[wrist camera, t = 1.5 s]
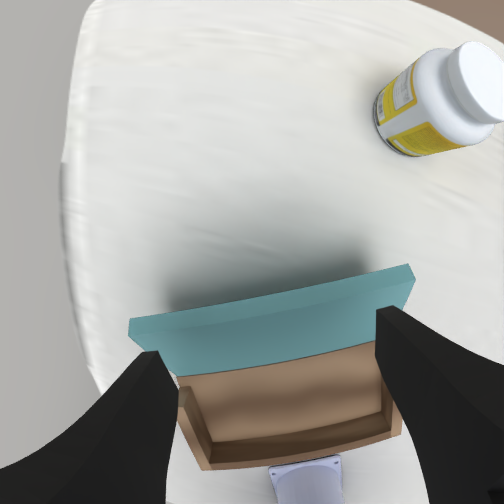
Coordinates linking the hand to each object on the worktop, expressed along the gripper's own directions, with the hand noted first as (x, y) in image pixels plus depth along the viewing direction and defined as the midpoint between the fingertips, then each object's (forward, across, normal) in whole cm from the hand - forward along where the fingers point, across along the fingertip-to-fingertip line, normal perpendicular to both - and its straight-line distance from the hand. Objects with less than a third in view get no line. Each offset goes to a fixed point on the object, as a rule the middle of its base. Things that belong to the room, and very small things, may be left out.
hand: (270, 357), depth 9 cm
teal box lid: (+11, 0, +10) cm, 14 cm away
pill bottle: (+16, -14, -6) cm, 22 cm away
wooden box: (+11, 0, +15) cm, 19 cm away
